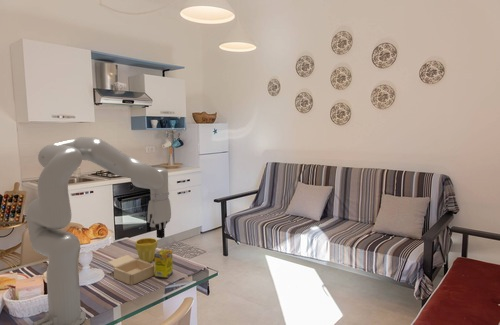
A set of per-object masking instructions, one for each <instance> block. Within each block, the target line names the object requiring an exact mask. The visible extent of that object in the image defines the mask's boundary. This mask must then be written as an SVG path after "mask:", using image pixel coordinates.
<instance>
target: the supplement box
mask: <svg viewBox="0 0 500 325" xmlns="http://www.w3.org/2000/svg"><path fill="white" fill-rule="evenodd" d="M173 266H174V265H173V250H172V249H159V250H158V251H157V252H155V255H154V277H155V278H157V279H164V280H165V279H166V280H167V279H168V278H169V277H170V276H172V275H173V273H174V272H173Z"/></svg>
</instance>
